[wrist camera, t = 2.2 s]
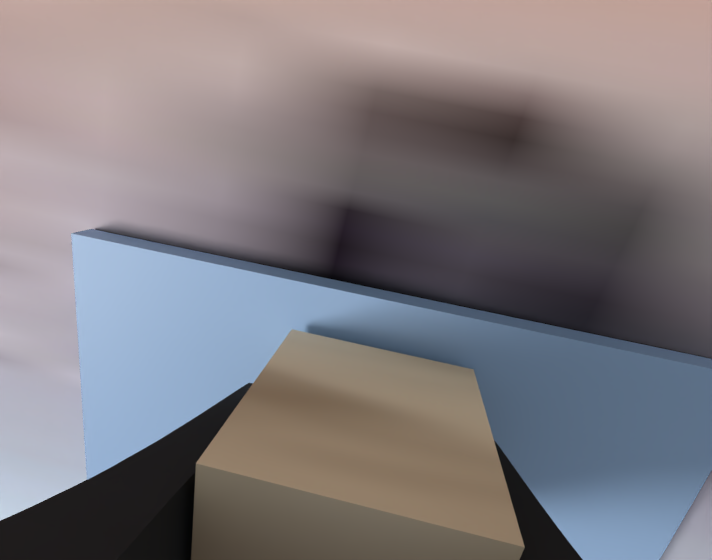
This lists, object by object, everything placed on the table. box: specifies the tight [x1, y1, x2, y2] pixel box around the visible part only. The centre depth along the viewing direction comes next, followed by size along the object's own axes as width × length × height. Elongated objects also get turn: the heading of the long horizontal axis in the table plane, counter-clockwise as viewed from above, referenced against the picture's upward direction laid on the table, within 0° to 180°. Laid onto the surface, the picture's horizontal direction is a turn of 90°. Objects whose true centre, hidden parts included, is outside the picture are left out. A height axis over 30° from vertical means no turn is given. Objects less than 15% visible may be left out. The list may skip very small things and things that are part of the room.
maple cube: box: [191, 329, 525, 560], centre depth 7 cm, size 4×4×4 cm
